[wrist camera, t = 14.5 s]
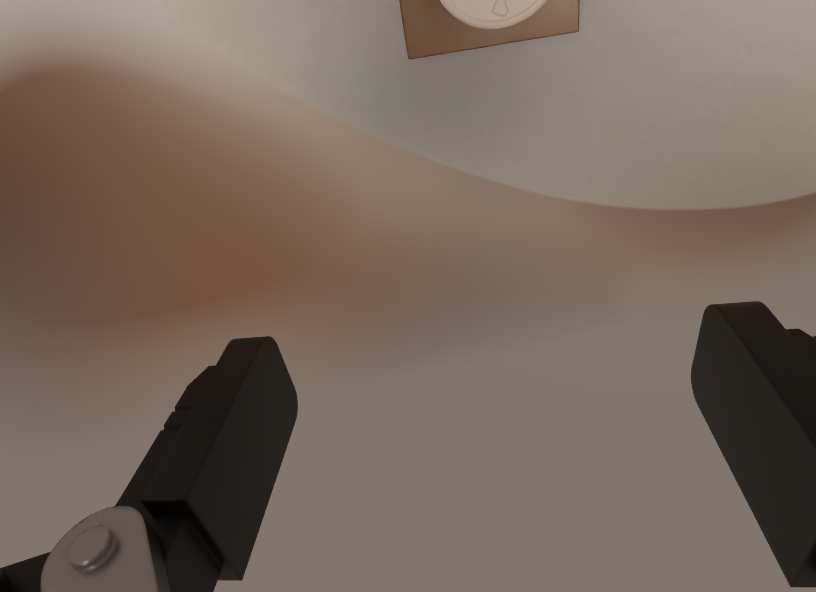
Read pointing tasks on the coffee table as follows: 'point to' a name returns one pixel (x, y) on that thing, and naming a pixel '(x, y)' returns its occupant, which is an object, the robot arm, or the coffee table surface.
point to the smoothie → (492, 11)
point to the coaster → (444, 33)
